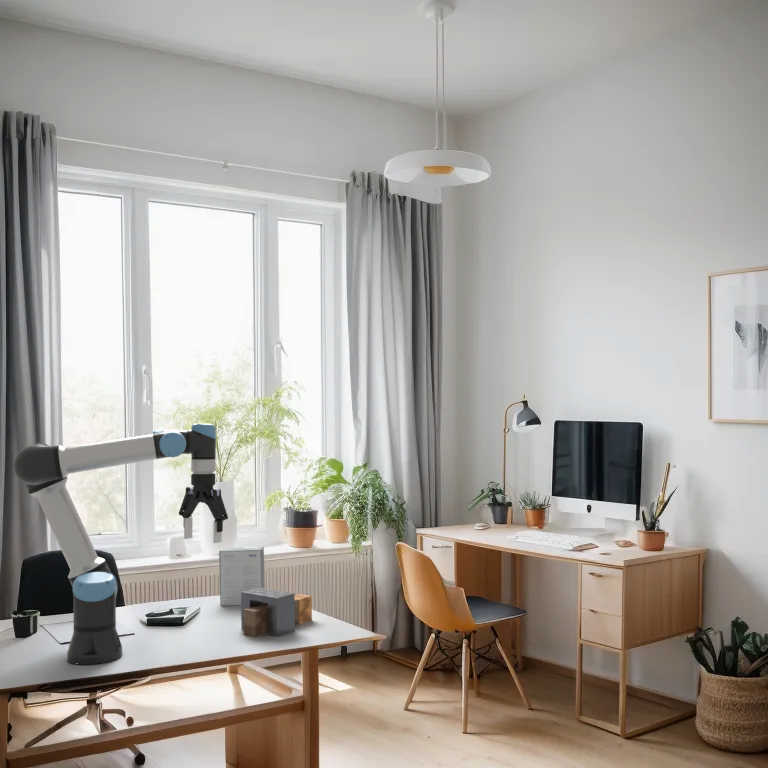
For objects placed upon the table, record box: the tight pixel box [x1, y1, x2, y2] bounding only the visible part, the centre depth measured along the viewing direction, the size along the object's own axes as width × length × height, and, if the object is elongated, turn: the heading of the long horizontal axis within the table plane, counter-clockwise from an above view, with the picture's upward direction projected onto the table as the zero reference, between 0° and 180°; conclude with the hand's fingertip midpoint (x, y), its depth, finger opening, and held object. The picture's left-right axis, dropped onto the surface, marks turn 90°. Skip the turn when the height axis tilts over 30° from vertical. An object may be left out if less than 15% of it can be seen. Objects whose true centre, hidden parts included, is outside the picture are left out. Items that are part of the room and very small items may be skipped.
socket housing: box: [240, 587, 296, 638], centre depth 279 cm, size 8×16×12 cm, turn 53°
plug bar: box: [243, 594, 313, 638], centre depth 283 cm, size 26×6×8 cm, turn 143°
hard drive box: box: [218, 546, 266, 607], centre depth 318 cm, size 16×8×20 cm, turn 89°
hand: (202, 540), depth 273 cm, fingers open, 13 cm apart
